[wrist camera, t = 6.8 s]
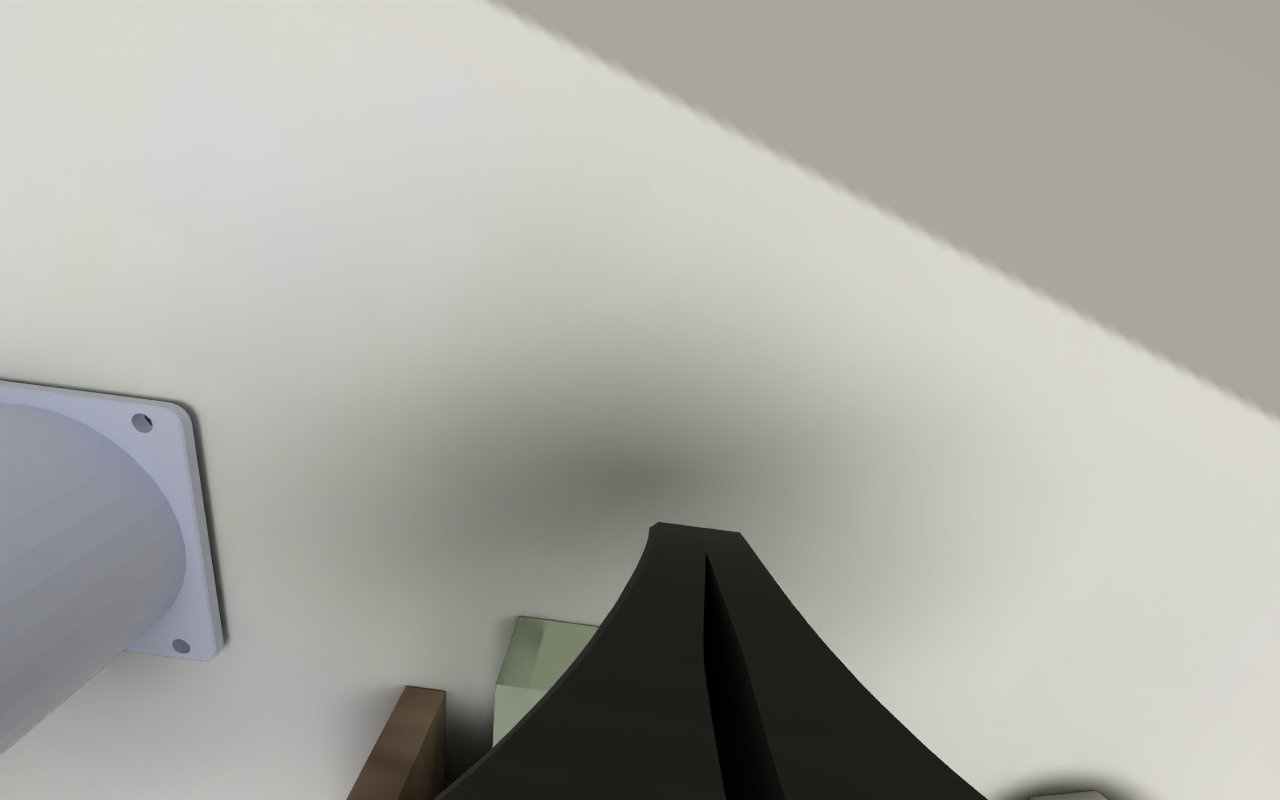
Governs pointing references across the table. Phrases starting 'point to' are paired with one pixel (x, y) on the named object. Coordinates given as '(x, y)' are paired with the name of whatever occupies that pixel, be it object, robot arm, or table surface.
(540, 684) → the tray
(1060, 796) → the salt shaker
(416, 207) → the table surface
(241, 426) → the table surface
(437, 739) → the shelf
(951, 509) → the table surface
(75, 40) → the table surface
